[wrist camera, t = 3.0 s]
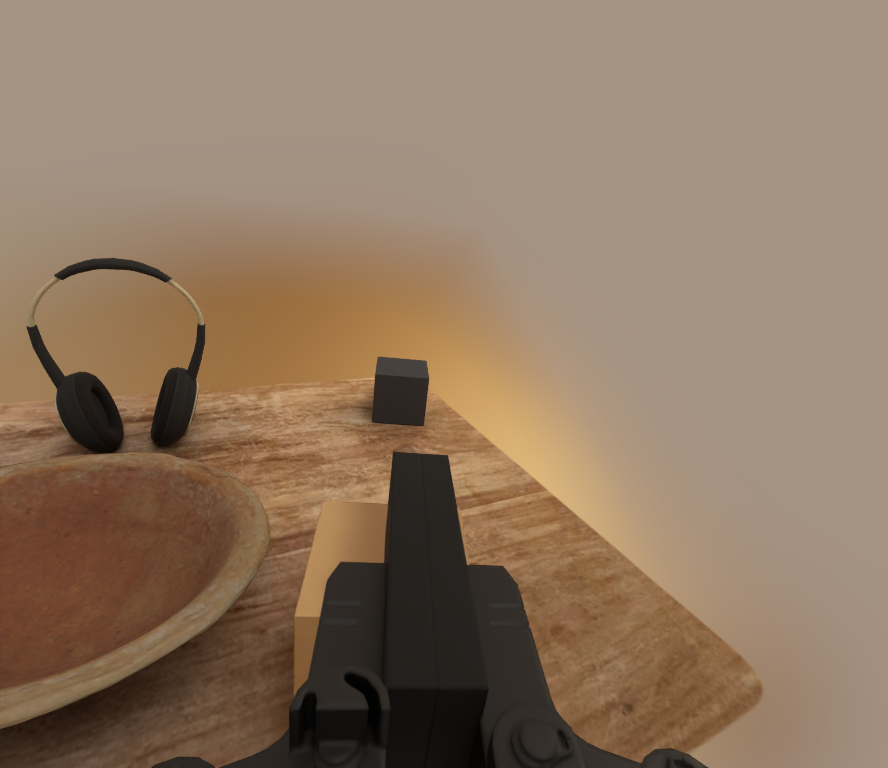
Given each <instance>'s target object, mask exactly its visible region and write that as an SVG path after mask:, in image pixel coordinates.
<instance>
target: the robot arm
mask: <svg viewBox="0 0 888 768" xmlns="http://www.w3.org/2000/svg"><path fill="white" fill-rule="evenodd" d="M152 768H215V767H214V766H213V765H211V764H209V763H208V762H206V761H204V760H202V759H201V758H199V757H176V758H173V759H170V760H168V761H165V762H162V763H159V764H156V765H154V766H153V767H152ZM220 768H708V767H706V766H705V765H703V764H702V763H701V762H699V761H698V760H696V759H695V758H693V757H692V756H690V755H689V754H686V753H683V752H680V751H677V750H674V749H672V748H668V749H655V750H654V751H652V752H651V753H650V754H648V755H647V756H646V757H644V759H643V761H642V764H641V763H638V762H636V761H633V760H630V759H627V758H624V757H621V756H619V755H616V754H613V753H610V752H607V751H605V750H602V749H599V748H597V747H595V746H593V745H591V744H589V743H587V742H586V741H584V740H583V739H582V738H580V737H579V736H578V735H576V734H575V733H574V732H573V731H572V729H571V727H570V726H569V725H568V724H567V723H566V722H565V721H564V720H563V718H562V717H561V716H560V715H559V714H558V712H557V711H556V709H555V706H554V704H553V701H552V699H551V696H550V693H549V689H548V686H547V683H546V679H545V676H544V672H543V669H542V666H541V662H540V659H539V655H538V652H537V649H536V645H535V642H534V639H533V635H532V632H531V628H529V622H528V618H527V615H526V612H525V610H524V605H523V601H522V598H521V595H520V591H519V588H518V584H517V583H516V582H515V581H514V579H513V578H512V577H511V575H510V574H509V573H508V572H507V570H506V569H505V568H504V567H503V566H491V565H467V561H466V556H465V550H464V544H463V539H462V533H461V527H460V522H459V516H458V510H457V505H456V499H455V493H454V487H453V482H452V476H451V470H450V465H449V459H448V455H433V454H418V453H403V452H393V459H392V469H391V480H390V490H389V500H388V511H387V521H386V532H385V550H384V563H367V562H340V563H339V564H338V566H337V567H336V568H335V570H334V571H333V572H332V574H331V575H330V576H329V578H328V579H327V582H326V587H325V593H324V598H323V604H322V608H321V613H320V618H319V625H318V629H317V634H316V639H315V644H314V649H313V655H312V660H311V665H310V670H309V675H308V679H307V680H306V681H305V682H304V683H303V685H302V686H301V687H300V688H299V689H298V690H297V692H296V695H295V697H294V700H293V702H292V704H291V707H290V711H289V730H288V731H287V732H286V733H285V734H284V735H283V736H282V737H281V738H280V739H279V740H278V741H276V742H275V743H274V744H272V745H271V746H270V747H268V748H267V749H265V750H263V751H261V752H259V753H257V754H255V755H253V756H250V757H247V758H244V759H242V760H239V761H236V762H233V763H231V764H228V765H225V766H222V767H220Z"/></svg>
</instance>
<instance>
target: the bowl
mask: <svg viewBox="0 0 888 768" xmlns="http://www.w3.org/2000/svg"><path fill="white" fill-rule="evenodd" d="M269 535H270V529H269V521H268V517H267V514H266V512H265V509H264V507H263V505H262V503H261V501H260V500H259V498H258V496H257V494H256V493H255V492H254V491H252V490H251V489H250V488H249V487H248V486H247V485H245V484H244V483H243V482H242V481H241V480H240V479H238V478H237V477H235V476H234V475H232V474H230V473H228V472H226V471H223V470H221V469H219V468H216V467H213V466H210V465H207V464H204V463H201V462H197V461H193V460H189V459H183V458H178V457H175V456H173V455H170V454H163V453H140V452H128V453H115V454H90V455H77V456H68V457H60V458H51V459H43V460H37V461H31V462H25V463H19V464H14V465H10V466H5V467H0V729H2V728H5V727H9V726H13V725H16V724H20V723H22V722H25V721H28V720H30V719H33V718H35V717H38V716H41V715H44V714H46V713H49V712H51V711H54V710H57V709H59V708H62V707H64V706H67V705H69V704H71V703H73V702H76V701H78V700H80V699H82V698H85V697H87V696H89V695H92V694H94V693H96V692H98V691H101V690H103V689H105V688H108V687H110V686H112V685H114V684H115V683H117V682H119V681H121V680H123V679H125V678H127V677H128V676H130V675H132V674H134V673H136V672H138V671H140V670H141V669H143V668H145V667H147V666H148V665H150V664H152V663H153V662H155V661H157V660H158V659H160V658H162V657H163V656H165V655H167V654H168V653H170V652H172V651H173V650H175V649H176V648H178V647H179V646H181V645H183V644H184V643H186V642H187V641H189V640H191V639H193V638H195V637H197V636H198V635H200V634H202V633H204V632H205V631H207V630H208V629H209V628H211V627H212V626H213V625H214V624H215V623H216V622H217V621H218V620H219V619H220V618H221V617H222V615H223V614H224V613H225V612H226V611H227V610H228V609H229V608H230V607H231V606H232V605H233V604H234V603H235V602H236V601H237V600H238V598H239V597H240V596H241V595H242V593H243V592H244V591H245V590H246V588H247V587H248V586H249V584H250V583H251V581H252V579H253V577H254V576H255V574H256V573H257V570H258V569H259V567H260V565H261V563H262V562H263V560H264V557H265V553H266V550H267V547H268V544H269Z"/></svg>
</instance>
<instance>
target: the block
mask: <svg viewBox="0 0 888 768" xmlns="http://www.w3.org/2000/svg"><path fill="white" fill-rule="evenodd" d="M428 384H429V375H428V368H427V362H426V361H422V360H410V359H399V358H386V357H378V359H377V366H376V373H375V386H374V400H373V414H372V422H376V423H390V424H404V425H419V426H424V418H425V410H426V401H427V393H428Z"/></svg>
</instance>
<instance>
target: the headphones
mask: <svg viewBox="0 0 888 768" xmlns="http://www.w3.org/2000/svg"><path fill="white" fill-rule="evenodd" d="M96 269H116V270H118V269H119V270H131V271H136V272H140V273H143V274H147V275H150V276H153V277H155V278H158V279H160V280H162V281H164V282H167V283H169V284H171V285H172V286H174V287H175V288H176V289H177V290H179V291H180V292H181V293H182V294H183V295H184V296H185V297H186V298H187V299H188V301H189V302H190V303H191V305H192V306H193V308H194V310H195V311H196V314H197V316H198V322H199V323H198V327H197V339H196V345H195V349H194V352H193V355H192V358H191V361H190V364H189V367H188V370H186V369H184V368H179V367H177V368H172V369H170V370H168V372H167V374H166V376H165V378H164V381H163V384H162V388H161V391H160V394H159V398H158V401H157V405H156V409H155V414H154V418H153V423H152V429H151V438H152V440H153V441H154V442H157V443H158V444H164V445H169V444H172V443H174V442H176V441H177V440H179V439H180V438H181V437H182V436H185V435H186V433H187V431H188V429H189V427H190V425H191V422H192V419H193V416H194V413H195V409H196V404H197V398H198V383H197V382H196V377H197V374H198V370H199V366H200V363H201V359H202V354H203V349H204V345H205V324H204V320H203V317H202V314H201V311H200V309H199V308H198V306H197V304H196V303H195V301H194V300H193V299H192V297H191V296H190V295H189V294H188V293H187V292H186V291H185V290H184V289H183V288H182V287H180V286H179V285H178V284H177V283H175V282H174V281H173V280H172V278H170V277H169V276H167V275H166V274H164V273H163V272H161V271H160V270H158V269H156V268H153V267H151V266H148V265H146V264H143V263H140V262H136V261H132V260H125V259H116V258H104V259H91V260H86V261H83V262H79V263H77V264H73V265H70V266H68V267H66V268H65V269H63V270H62V271H60V272H58V273H57V274H55V275H54V276H55V277H54V278H52V279H51V280H50V281H49V282H48V283H46V284H45V285H44V286H43V287H42V288H41V289H40V290H39V292H38V293H37V294H36V295H35V297H34V299H33V300H32V303H31V305H30V308H29V311H28V318H27V324H28V326H27V330H28V333H29V336H30V340H31V343H32V346H33V348H34V350H35V352H36V354H37V356H38V357H39V359H40V361H41V363H42V365H43V367H44V368H45V370H46V372H47V373H48V375H49V377H50V378H51V380H52V382H53V383H54V385H55V386H56V388H57V392H56V394H55V407H56V411H57V414H58V417H59V419H60V422H61V423H62V425H63V427H64V429H65V431H66V432H67V434H68V435H69V436H70V437H71V439H72V440H73V441H74V442H75V443H77V444H78V445H80V446H84V447H85V448H87V449H90V450H93V451H97V452H105V451H109V450H112V449H115V448H116V447H117V446H118V445H120V443H121V442H122V440H123V435H124V432H123V425H122V421H121V417H120V414H119V412H118V409H117V407H116V405H115V402H114V400H113V399H112V397H111V395H110V393H109V392H108V390H107V389H106V387H105V386H104V385H103V383H102V382H101V381H100V380H99V379H98V378H97V377H96V376H94V375H92V374H90V373H87V372H77V373H74V374H71V375H68V376H66V377H65V376H64V375H63V373H62V372H61V370H60V369H59V367H58V366H57V364H56V363H55V362H54V360H53V359H52V357H51V356H50V354H49V352H48V351H47V349H46V347H45V345H44V343H43V341H42V338H41V335H40V333H39V330H38V327H37V325H35V320H34V315H35V310H36V307H37V305H38V303H39V300H40V299H41V297H42V296H43V295H44V293H45V292H46V291H47V290H48V289H49V288H50V287H51V286H52V285H54V284H55V283H56V282H58V281H59V280H64V279H66V278H67V277H69V276H71V275H75V274H77V273H82V272H86V271H91V270H96Z"/></svg>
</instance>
